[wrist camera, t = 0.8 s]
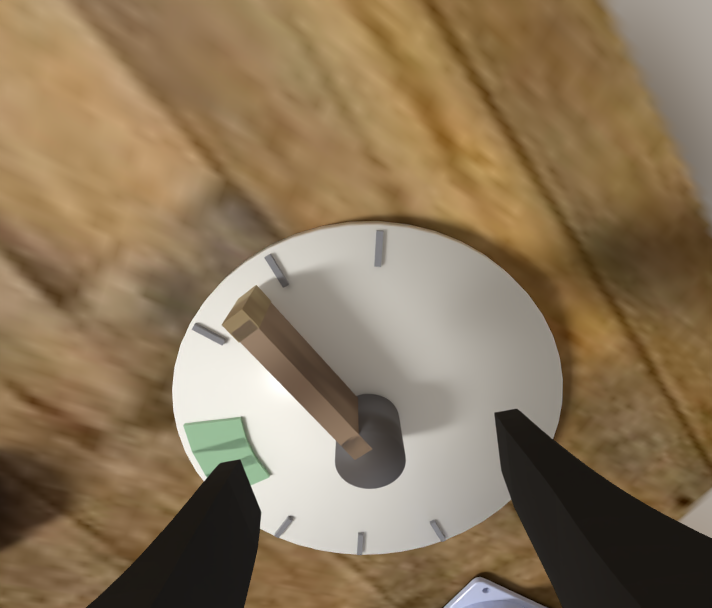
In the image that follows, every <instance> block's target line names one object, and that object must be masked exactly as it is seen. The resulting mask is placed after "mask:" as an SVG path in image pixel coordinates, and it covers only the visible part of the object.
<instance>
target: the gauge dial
mask: <svg viewBox="0 0 712 608" xmlns="http://www.w3.org/2000/svg"><path fill="white" fill-rule="evenodd" d="M255 285H257V286H258V287H259V288H260V289H261V290H262V291H263V292H264V294H265V295H266V296H267V297H268V298H269V299H270V300H271V303H272V304H273V305H274V306H275V307H276V308H277V309H278V310H279V312H280V313H281V314H282V315H283V316H284V317H285V318H286V319H287V320H288V321H289V323H290V324H291V325H292V326H293V327H294V328H295V329H296V330H297V331H298V332H299V334H300V335H301V336H302V337H303V338H304V339H305V340H306V341H307V342H308V343H309V345H310V346H311V347H312V348H313V349H314V350H315V351H316V352H317V353H318V354H319V356H320V357H321V358H322V359H323V360H324V361H325V362H326V363H327V364H328V365H329V367H330V368H331V369H332V370H333V371H334V372H335V373H336V374H337V375H338V376H339V377H340V379H341V380H342V381H343V382H344V383H345V384H346V385H347V386H348V387H349V388H350V390H351V391H352V392H353V393H354V394H355V395H356V396H358V395H362V394H375V395H380V396H382V397H385V398H386V399H388V400H389V401H391V402H392V403H393V404H394V406H395V407H396V409H397V411H398V413H399V418H400V425H401V431H402V437H403V444H404V450H405V456H406V464H405V468H404V470H403V472H402V474H401V475H400V476H399V477H398V479H396V480H395V481H394V482H392V483H391V484H389V485H387V486H384V487H381V488H376V489H364V488H359V487H355V486H353V485H351V484H349V483H347V482H346V481H345V480H343V479H342V478H341V476H340V475H339V474H338V472H337V470H336V467H335V449H336V440H335V439H334V438H333V437H332V436H331V435H330V434H329V433H328V432H327V431H326V430H325V429H324V428H323V427H322V426H321V425H320V424H319V423H318V422H317V421H316V420H315V419H314V418H313V417H312V416H311V415H310V414H309V413H308V412H307V411H306V410H305V409H304V407H303V406H302V405H301V404H300V403H299V402H298V401H297V400H296V399H295V398H294V397H293V396H292V395H291V394H290V393H289V392H288V391H287V390H286V389H285V388H284V387H283V386H282V385H281V384H280V383H279V382H278V381H277V380H276V379H275V378H274V377H273V376H272V375H271V374H270V373H269V372H268V371H267V370H266V369H265V368H264V366H263V365H262V364H261V363H260V362H259V361H258V360H257V359H256V358H255V357H254V356H253V355H252V354H251V353H250V352H249V351H248V350H247V349H246V348H245V347H244V346H243V345H242V344H241V343H240V342H238V341H237V340H236V339H235V338H234V337H233V336H232V335H231V334H230V333H229V332H228V331H227V330H226V329H225V328H224V327H223V326H222V323H223V322H224V320H225V318H226V317H227V315H228V314H229V312H230V311H231V309H232V308H233V306H234V304H235V303H236V301H237V300H238V298H240V297H241V296H242V295H244V294H245V293H246V292H248V291H249V290H250V289H251V288H253V287H254V286H255ZM172 392H173V411H174V416H175V420H176V425H177V430H178V433H179V436H180V439H181V441H182V444H183V447H184V449H185V452H186V454H187V455H188V457H189V459H190V461H191V463H192V465H193V466H194V468H195V470H196V471H197V473H198V474H199V475H200V477H201V478H202V479H203V481H205V480H206V478H207V477H208V476H209V475H210V474H211V472H212V471H213V470H214V469H215V468H216V467H217V466H218V464H219V463H222V462H227V461H233V460H238V459H240V460H241V462H242V465H243V467H244V470H245V472H246V475H247V477H248V480H249V482H250V485H251V487H252V490H253V492H254V495H255V497H256V500H257V502H258V505H259V507H260V510H261V522H260V529H262V530H264V531H266V532H268V533H270V534H272V535H274V536H275V537H278V538H282V539H284V540H287V541H289V542H292V543H295V544H298V545H302V546H306V547H309V548H313V549H317V550H323V551H329V552H335V553H346V554H357V555H362V554H384V553H393V552H401V551H407V550H411V549H416V548H420V547H425V546H428V545H431V544H434V543H437V542H440V541H441V542H442V541H445V540H446V539H448V538H451V537H453V536H455V535H458V534H460V533H462V532H465V531H466V530H468V529H470V528H472V527H474V526H475V525H477V524H479V523H481V522H483V521H484V520H485V519H487V518H488V517H490V516H491V515H492V514H494V513H495V512H497V511H498V510H500V509H501V508H502V507H503V506H504V505H505V504H506V503H508V502H509V501H510V500H511V497H510V494H509V491H508V489H507V486H506V483H505V480H504V477H503V474H502V472H501V465H500V457H499V449H498V441H497V433H496V424H495V416H494V413H495V412H500V411H506V410H511V409H518V410H520V411H521V412H522V413H523V414H524V415H525V416H527V417H528V418H529V419H530V420H531V421H532V422H533V423H534V424H536V425H537V426H538V427H539V428H540V429H541V430H542V431H544V432H545V433H546V434H547V435H548V436H550V437H551V438H552V439H553V437H554V434H555V432H556V429H557V426H558V423H559V417H560V412H561V406H562V393H563V378H562V370H561V363H560V357H559V353H558V350H557V347H556V344H555V340H554V337H553V335H552V333H551V331H550V328H549V326H548V324H547V322H546V320H545V318H544V316H543V314H542V313H541V312H540V310H539V309H538V307H537V306H536V304H535V303H534V302H533V300H532V299H531V297H530V296H529V295H528V293H527V292H526V291H525V290H524V289H523V288H522V287H521V286H520V285H519V284H518V283H517V282H516V281H515V280H514V279H513V278H512V277H511V276H510V275H509V274H508V273H507V272H506V271H505V270H504V269H503V268H501V267H500V266H499V265H497V264H496V263H495V262H494V261H492V260H491V259H490V258H488V257H487V256H486V255H484V254H483V253H481V252H479V251H478V250H476V249H474V248H472V247H471V246H469V245H467V244H465V243H463V242H462V241H460V240H457V239H455V238H452V237H450V236H447V235H445V234H442V233H439V232H437V231H434V230H430V229H426V228H422V227H418V226H414V225H409V224H403V223H394V222H384V221H356V222H345V223H338V224H332V225H325V226H320V227H317V228H313V229H310V230H307V231H303V232H300V233H296V234H294V235H291V236H289V237H287V238H285V239H282V240H280V241H278V242H276V243H273V244H271V245H269V246H267V247H266V248H264V249H263V250H261V251H259V252H258V253H256V254H255V255H253V256H251V257H250V258H248V259H247V260H245V261H244V262H243V263H242V264H241V265H239V266H238V267H237V268H236V269H235V270H233V271H232V272H231V273H230V274H229V275H228V276H226V278H225V279H224V280H223V281H222V282H221V283H220V284H219V285H218V287H217V288H216V289H215V290H214V291H213V292H212V293H211V294H210V296H209V297H208V298H207V299H206V300H205V302H204V303H203V305H202V306H201V308H200V309H199V311H198V312H197V314H196V315H195V317H194V318H193V320H192V321H191V323H190V325H189V327H188V330H187V332H186V334H185V336H184V338H183V341H182V343H181V345H180V349H179V353H178V356H177V360H176V364H175V368H174V378H173V388H172Z"/></svg>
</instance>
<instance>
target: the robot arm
mask: <svg viewBox="0 0 712 608" xmlns="http://www.w3.org/2000/svg"><path fill="white" fill-rule="evenodd" d="M494 416H495V424H496V433H497V441H498V449H499V457H500V465H501V472H502V474H503V477H504V480H505V483H506V486H507V489H508V491H509V494H510V497H511V500H512V502H513V505H514V507H515V510H516V512H517V514H518V516H519V518H520V520H521V522H522V524H523V526H524V528H525V530H526V532H527V534H528V536H529V538H530V540H531V542H532V544H533V547H534V549H535V551H536V553H537V555H538V557H539V559H540V561H541V563H542V565H543V567H544V569H545V571H546V573H547V575H548V577H549V579H550V581H551V583H552V585H553V587H554V589H555V592H556V594H557V596H558V598H559V601H560V603H561V605H562V607H563V608H712V538H710V537H708V536H705V535H704V534H701V533H699V532H697V531H695V530H693V529H691V528H689V527H687V526H686V525H684V524H682V523H680V522H678V521H676V520H674V519H672V518H670V517H668V516H666V515H664V514H662V513H661V512H659V511H657V510H655V509H653V508H651V507H650V506H648V505H646V504H645V503H643V502H641V501H640V500H638V499H636V498H635V497H633V496H631V495H630V494H628V493H626V492H625V491H623V490H622V489H620V488H618V487H617V486H615V485H614V484H612V483H611V482H609V481H608V480H606V479H605V478H604V477H602V476H601V475H599V474H598V473H596V472H595V471H594V470H592V469H591V468H589V467H588V466H587V465H585V464H584V463H583V462H581V461H580V460H579V459H577V458H576V457H575V456H573V455H572V454H571V453H570V452H568V451H567V450H566V449H564V448H563V447H562V446H561V445H559V444H558V443H557V442H556V441H554V440H553V439H552V438H551V437H550V436H548V435H547V434H546V433H545V432H544V431H542V430H541V429H540V428H539V427H538V426H537V425H536V424H534V423H533V422H532V421H531V420H530V419H529V418H528V417H527V416H525V415H524V414H523V413H522V412H521V411H520V410H518V409H511V410H506V411H500V412H495V413H494ZM260 522H261V510H260V507H259V505H258V502H257V500H256V497H255V495H254V492H253V490H252V487H251V485H250V482H249V480H248V477H247V475H246V472H245V470H244V467H243V465H242V462H241V460H240V459H238V460H233V461H227V462H222V463H219V464H218V466H217V467H216V468H215V469H214V470H213V471H212V472H211V474H210V475H209V476H208V477H207V478H206V480H205V481H204V482H203V483H202V485H201V486H200V487H199V488H198V489H197V491H196V492H195V493H194V494H193V496H192V497H191V498H190V499H189V500H188V502H187V503H186V504H185V505H184V506H183V508H182V509H181V510H180V511H179V512H178V514H177V515H176V516H175V517H174V518H173V520H172V521H171V522H170V523H169V524H168V525H167V527H166V528H165V529H164V530H163V531H162V532H161V533H160V534H159V535H158V537H157V538H156V539H155V540H154V541H153V542H152V543H151V544H150V545H149V547H148V548H147V549H146V550H145V551H144V552H143V553H142V554H141V555H140V556H139V557H138V559H137V560H136V561H135V562H134V563H133V564H132V565H131V566H130V567H129V568H128V569H127V570H126V571H125V572H124V573H123V574H122V575H121V576H120V577H119V578H118V579H117V580H116V581H115V582H113V583H112V584H111V585H110V586H109V587H108V588H107V589H106V590H105V591H104V592H103V593H102V594H101V595H100V596H99V597H98V598H96V599H95V600H94V601H93V602H92V603H91V604H90V605H88V606H87V607H86V608H244V605H245V601H246V597H247V592H248V588H249V584H250V580H251V576H252V571H253V567H254V563H255V558H256V554H257V549H258V541H259V533H260ZM444 608H547V607H545V606H543V605H541V604H538V603H536V602H534V601H532V600H530V599H528V598H525V597H523V596H521V595H519V594H517V593H515V592H513V591H510V590H508V589H506V588H504V587H502V586H500V585H498V584H495V583H493V582H491V581H489V580H487V579H485V578H482V577H477V578H474V579H473V580H472V581H471V582H470V583H469V584H468V585H467V586H466V587H465V588H463V589H462V590H461V591H460V592H459V593H458V594H457V595H456V596H455V597H454V598H453V599H452V600H451V601H450V602H449V603H448V604H447V605H446V606H445V607H444Z"/></svg>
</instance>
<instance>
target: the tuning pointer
mask: <svg viewBox="0 0 712 608" xmlns="http://www.w3.org/2000/svg"><path fill="white" fill-rule="evenodd" d="M222 326H223V327H224V328H225V329H226V330H227V331H228V332H229V333H230V334H231V335H232V336H233V337H234V338H235V339H236V340H237V341H238V342H240V343H241V344H242V345H243V346H244V347H245V348H246V349H247V350H248V351H249V352H250V353H251V354H252V355H253V356H254V357H255V358H256V359H257V360H258V361H259V362H260V363H261V364H262V365H263V366H264V368H265V369H266V370H267V371H268V372H269V373H270V374H271V375H272V376H273V377H274V378H275V379H276V380H277V381H278V382H279V383H280V384H281V385H282V386H283V387H284V388H285V389H286V390H287V391H288V392H289V393H290V394H291V395H292V396H293V397H294V398H295V399H296V400H297V401H298V402H299V403H300V404H301V405H302V406H303V407H304V409H305V410H306V411H307V412H308V413H309V414H310V415H311V416H312V417H313V418H314V419H315V420H316V421H317V422H318V423H319V424H320V425H321V426H322V427H323V428H324V429H325V430H326V431H327V432H328V433H329V434H330V435H331V436H332V437H333V438H334V439H335V440H336V449H335V467H336V470H337V472H338V474H339V475H340V476H341V478H342V479H343V480H345V481H346V482H347V483H349V484H351V485H353V486H355V487H359V488H364V489H376V488H381V487H384V486H387V485H389V484H391V483H392V482H394V481H395V480H396V479H398V477H399V476H400V475H401V474H402V472H403V470H404V468H405V464H406V456H405V450H404V444H403V437H402V431H401V425H400V418H399V413H398V411H397V409H396V407H395V406H394V404H393V403H392V402H391V401H389V400H388V399H386V398H385V397H382V396H380V395H375V394H362V395H358V396H356V395H355V394H354V393H353V392H352V391H351V390H350V388H349V387H348V386H347V385H346V384H345V383H344V382H343V381H342V380H341V379H340V377H339V376H338V375H337V374H336V373H335V372H334V371H333V370H332V369H331V368H330V367H329V365H328V364H327V363H326V362H325V361H324V360H323V359H322V358H321V357H320V356H319V354H318V353H317V352H316V351H315V350H314V349H313V348H312V347H311V346H310V345H309V343H308V342H307V341H306V340H305V339H304V338H303V337H302V336H301V335H300V334H299V332H298V331H297V330H296V329H295V328H294V327H293V326H292V325H291V324H290V323H289V321H288V320H287V319H286V318H285V317H284V316H283V315H282V314H281V313H280V312H279V310H278V309H277V308H276V307H275V306H274V305H273V304H272V303H271V300H270V299H269V298H268V297H267V296H266V295H265V294H264V292H263V291H262V290H261V289H260V288H259V287H258V286H257V285H255V286H254V287H253V288H251V289H250V290H249V291H248V292H246V293H245V294H244V295H242V296H241V297H240V298H238V300H237V301H236V303H235V304H234V306H233V308H232V309H231V311H230V312H229V314H228V315H227V317H226V318H225V320H224V322H223V323H222Z"/></svg>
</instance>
